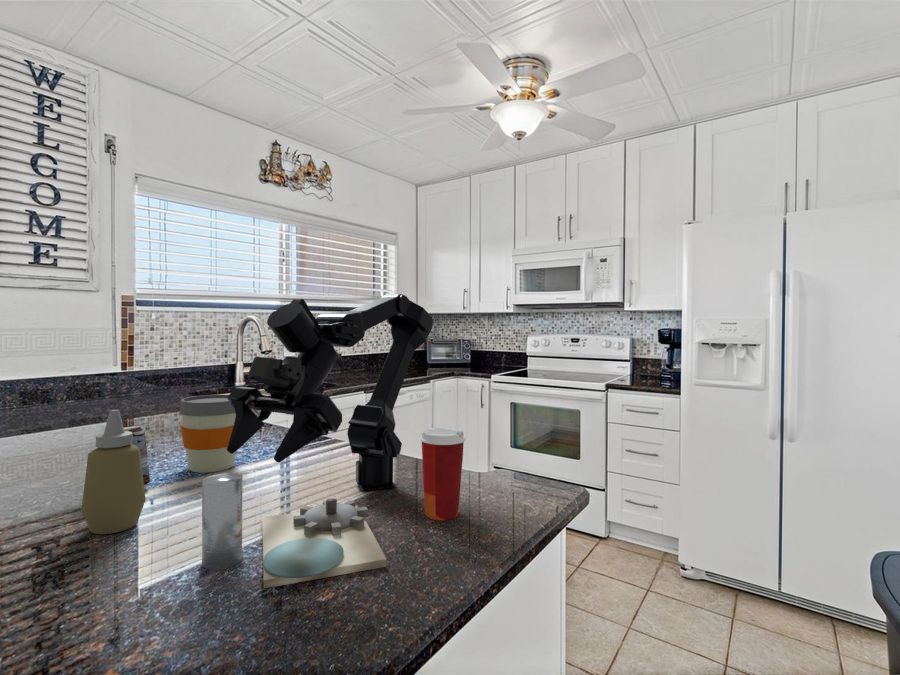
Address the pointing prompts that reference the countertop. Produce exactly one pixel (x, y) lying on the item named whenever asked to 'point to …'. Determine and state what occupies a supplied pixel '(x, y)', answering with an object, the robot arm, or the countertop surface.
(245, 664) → the countertop surface
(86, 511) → the squeeze bottle
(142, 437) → the beverage can
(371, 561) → the board
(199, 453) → the reusable coffee cup
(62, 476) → the countertop surface
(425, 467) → the paper cup
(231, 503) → the axle
